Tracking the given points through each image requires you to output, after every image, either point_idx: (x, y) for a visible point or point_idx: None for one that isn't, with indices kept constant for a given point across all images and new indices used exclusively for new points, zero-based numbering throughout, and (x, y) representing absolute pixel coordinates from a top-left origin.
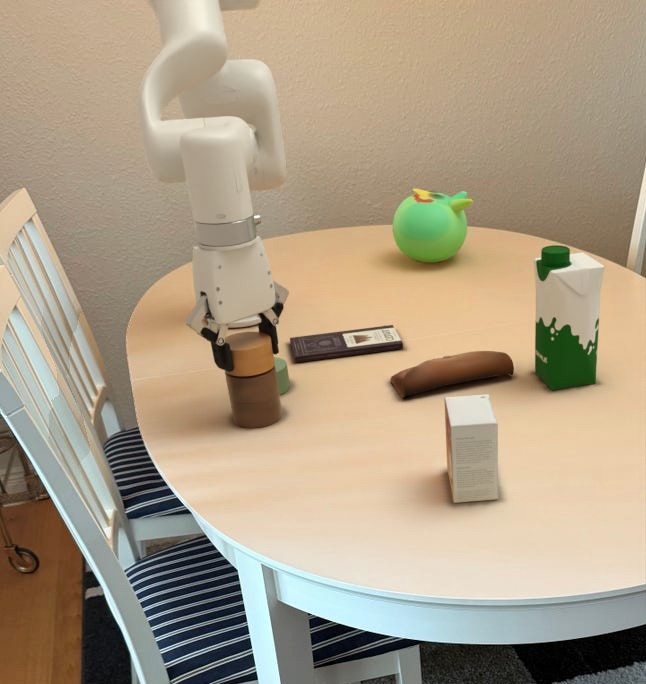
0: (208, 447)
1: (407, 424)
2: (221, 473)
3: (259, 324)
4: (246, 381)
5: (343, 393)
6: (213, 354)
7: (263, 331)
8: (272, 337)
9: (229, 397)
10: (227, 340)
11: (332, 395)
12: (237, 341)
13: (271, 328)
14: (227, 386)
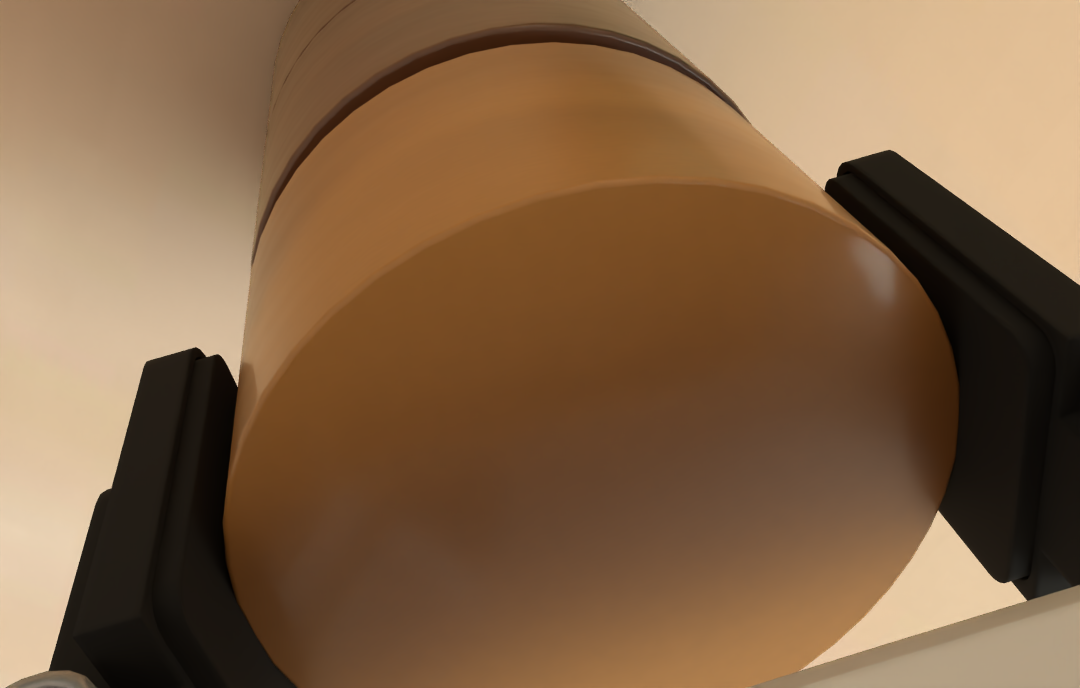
0: (6, 337)
1: (977, 572)
2: (40, 617)
3: (1053, 353)
4: None
5: (1067, 108)
6: (83, 574)
7: (971, 401)
8: (943, 507)
9: (266, 134)
10: (398, 399)
11: (1007, 92)
12: (512, 506)
13: (1029, 581)
14: (259, 192)
